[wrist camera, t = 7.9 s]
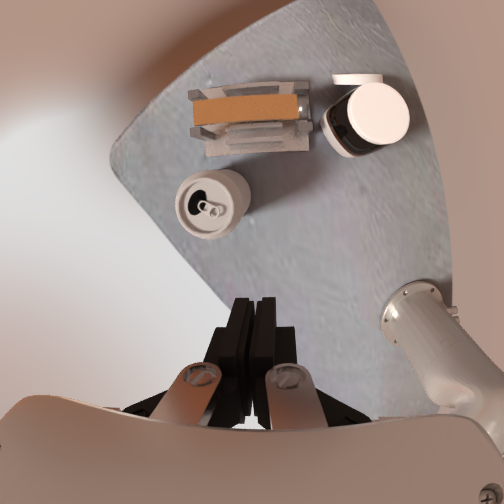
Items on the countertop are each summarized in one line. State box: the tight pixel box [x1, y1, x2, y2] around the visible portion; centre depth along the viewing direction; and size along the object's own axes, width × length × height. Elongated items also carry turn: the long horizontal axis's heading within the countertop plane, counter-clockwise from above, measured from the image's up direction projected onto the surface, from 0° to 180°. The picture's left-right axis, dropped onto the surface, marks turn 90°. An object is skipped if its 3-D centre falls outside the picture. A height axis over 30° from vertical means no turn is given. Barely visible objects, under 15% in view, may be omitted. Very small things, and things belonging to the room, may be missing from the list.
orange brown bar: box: [193, 93, 311, 126], centre depth 29 cm, size 13×3×2 cm, turn 94°
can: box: [175, 169, 251, 239], centre depth 33 cm, size 8×8×12 cm
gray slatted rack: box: [188, 81, 313, 157], centre depth 31 cm, size 14×10×8 cm
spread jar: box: [320, 74, 410, 158], centre depth 28 cm, size 12×11×12 cm
